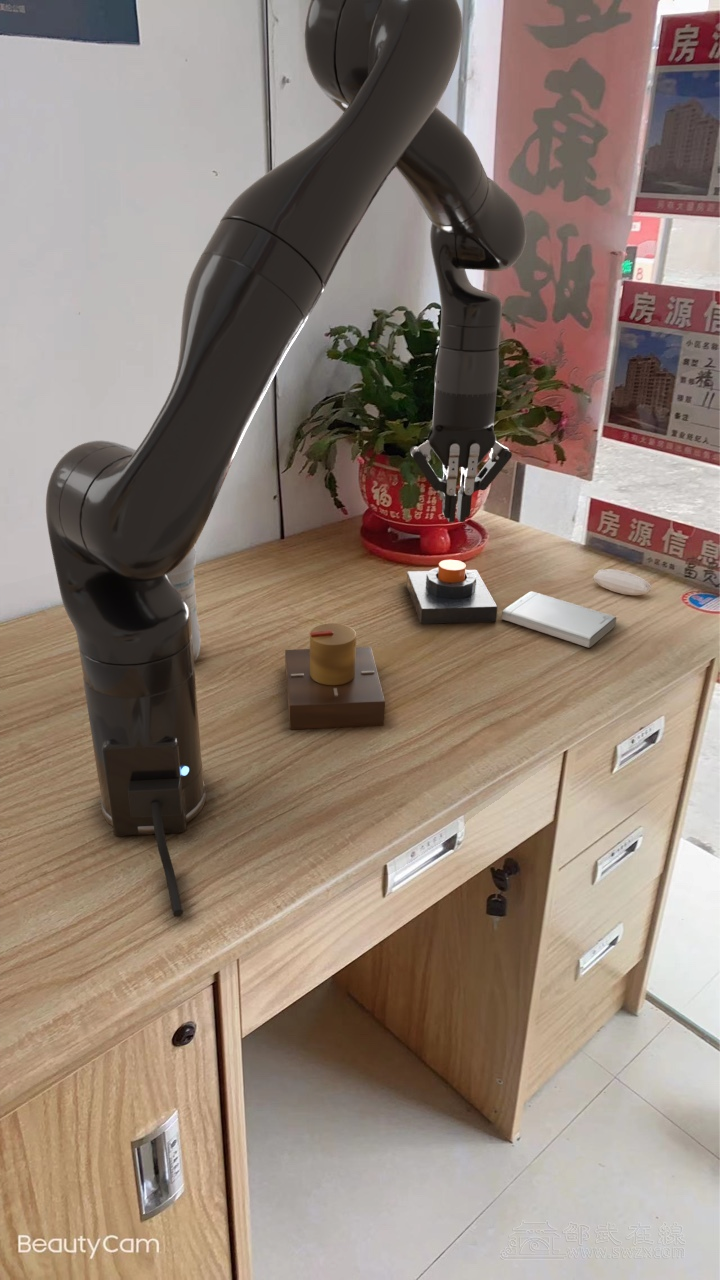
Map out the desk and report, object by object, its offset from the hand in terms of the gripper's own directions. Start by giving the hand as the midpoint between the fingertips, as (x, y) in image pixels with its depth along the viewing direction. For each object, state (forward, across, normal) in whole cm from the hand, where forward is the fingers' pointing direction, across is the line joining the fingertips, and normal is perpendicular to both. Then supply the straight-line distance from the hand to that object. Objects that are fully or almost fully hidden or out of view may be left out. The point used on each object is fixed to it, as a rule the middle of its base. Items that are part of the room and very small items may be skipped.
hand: (455, 519), depth 115 cm
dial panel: (+12, -18, -23) cm, 32 cm away
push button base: (+12, 0, 0) cm, 12 cm away
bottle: (+12, -36, -13) cm, 40 cm away
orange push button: (+8, 0, 0) cm, 8 cm away
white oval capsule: (+12, +25, +2) cm, 28 cm away
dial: (+9, -18, -23) cm, 31 cm away
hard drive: (+12, +13, -7) cm, 19 cm away
